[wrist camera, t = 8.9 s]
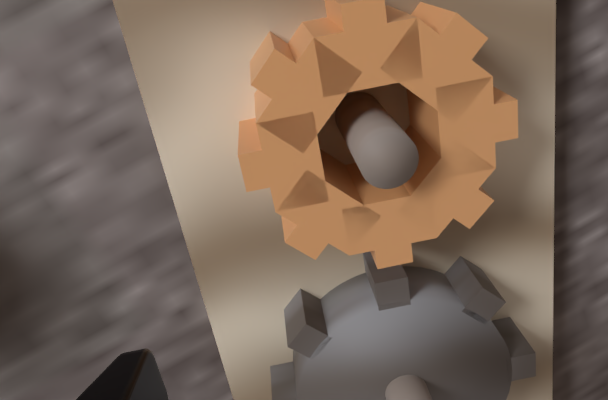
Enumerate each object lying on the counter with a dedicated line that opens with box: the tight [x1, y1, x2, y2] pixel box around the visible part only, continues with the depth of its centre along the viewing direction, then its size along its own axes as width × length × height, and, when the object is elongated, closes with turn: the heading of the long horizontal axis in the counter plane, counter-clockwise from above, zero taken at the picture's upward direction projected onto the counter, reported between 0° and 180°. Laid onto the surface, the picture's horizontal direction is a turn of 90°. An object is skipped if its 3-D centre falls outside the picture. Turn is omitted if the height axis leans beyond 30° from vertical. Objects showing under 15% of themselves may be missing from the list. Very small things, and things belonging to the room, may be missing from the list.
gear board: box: [113, 0, 556, 400], centre depth 18 cm, size 22×12×6 cm, turn 10°
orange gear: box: [238, 0, 518, 269], centre depth 15 cm, size 7×7×3 cm
